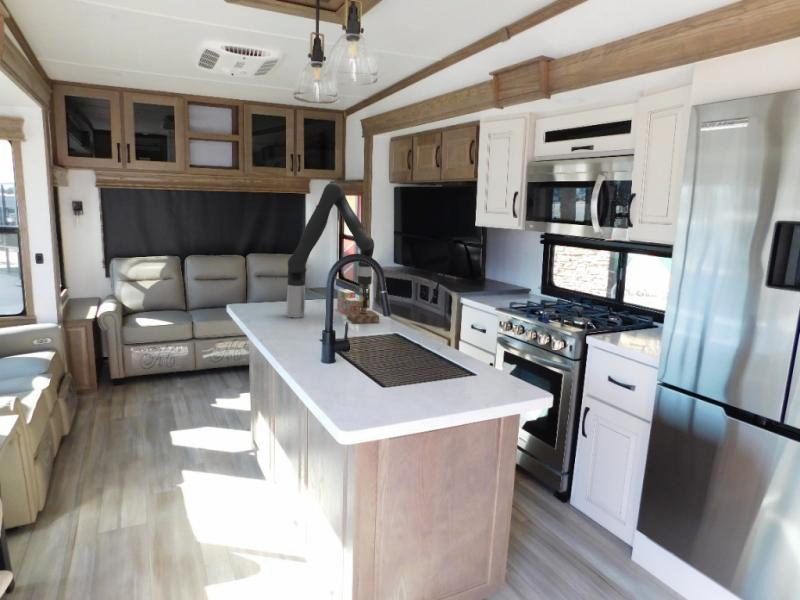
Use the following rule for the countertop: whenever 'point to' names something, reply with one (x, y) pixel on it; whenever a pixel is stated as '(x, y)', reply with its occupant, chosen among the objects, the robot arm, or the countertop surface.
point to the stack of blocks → (347, 301)
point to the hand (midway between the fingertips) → (363, 306)
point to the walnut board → (363, 317)
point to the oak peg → (363, 310)
